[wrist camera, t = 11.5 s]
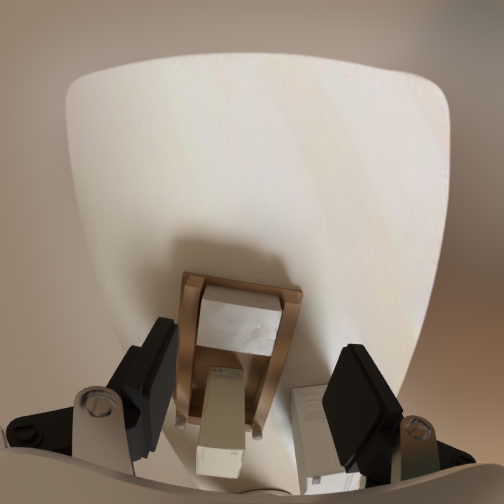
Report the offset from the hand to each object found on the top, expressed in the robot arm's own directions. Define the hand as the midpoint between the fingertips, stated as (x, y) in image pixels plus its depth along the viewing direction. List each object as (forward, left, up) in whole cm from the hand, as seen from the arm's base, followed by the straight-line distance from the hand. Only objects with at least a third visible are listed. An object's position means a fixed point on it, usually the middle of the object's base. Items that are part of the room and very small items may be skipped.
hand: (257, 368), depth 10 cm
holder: (-14, 0, -20) cm, 24 cm away
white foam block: (-7, 0, -19) cm, 20 cm away
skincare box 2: (-20, -12, -20) cm, 31 cm away
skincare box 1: (-18, 0, -19) cm, 26 cm away
